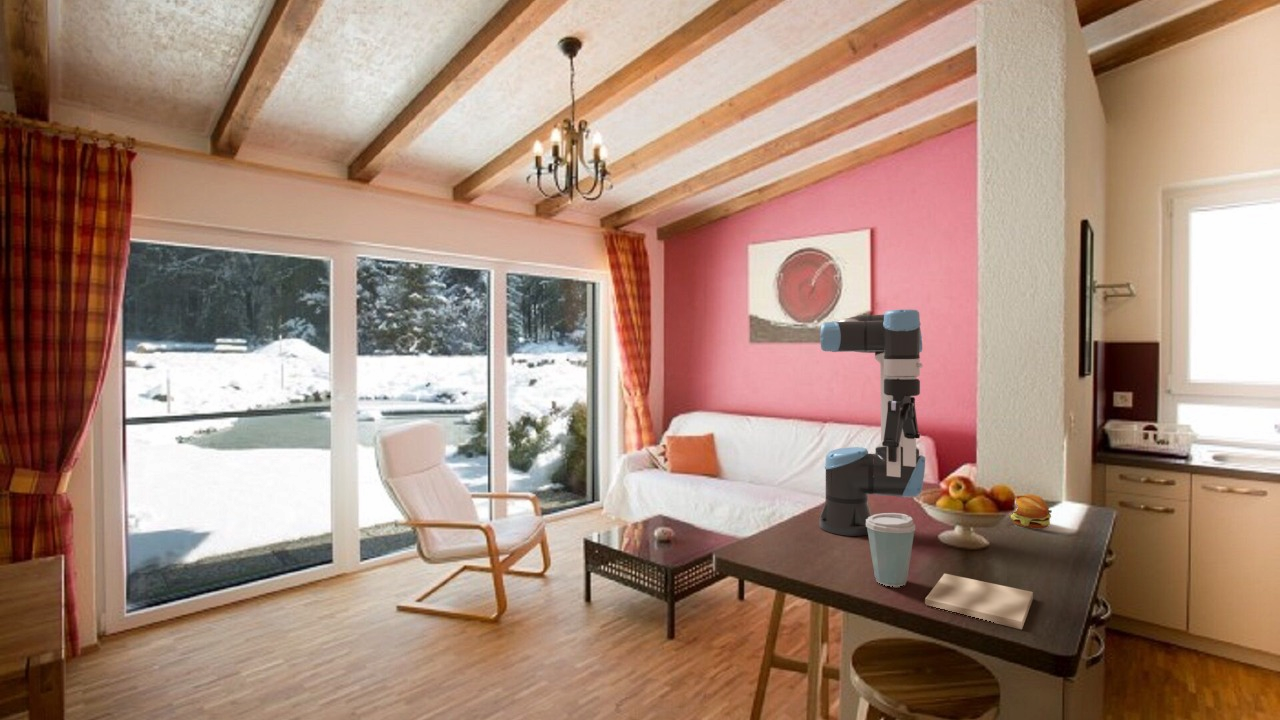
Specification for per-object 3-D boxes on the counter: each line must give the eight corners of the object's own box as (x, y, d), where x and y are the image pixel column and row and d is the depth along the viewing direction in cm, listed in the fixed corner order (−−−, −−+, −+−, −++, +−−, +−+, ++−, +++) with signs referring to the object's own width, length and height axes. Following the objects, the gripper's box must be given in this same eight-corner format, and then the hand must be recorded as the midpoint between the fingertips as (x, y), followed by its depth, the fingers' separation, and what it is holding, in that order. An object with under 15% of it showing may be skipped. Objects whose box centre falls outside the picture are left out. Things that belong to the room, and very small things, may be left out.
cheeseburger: (1050, 522, 179) (1051, 491, 177) (1051, 540, 171) (1053, 508, 168) (1010, 516, 185) (1011, 486, 182) (1010, 534, 176) (1010, 503, 174)
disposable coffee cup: (874, 591, 132) (874, 523, 132) (858, 572, 143) (858, 509, 142) (923, 591, 132) (923, 523, 131) (904, 573, 142) (904, 509, 142)
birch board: (925, 605, 125) (925, 598, 125) (944, 579, 138) (944, 573, 138) (1021, 629, 114) (1021, 621, 114) (1032, 599, 127) (1032, 592, 127)
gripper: (904, 381, 125) (905, 483, 125) (932, 375, 145) (932, 463, 145) (867, 380, 129) (868, 478, 130) (899, 375, 149) (899, 460, 150)
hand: (901, 471), depth 137 cm, fingers open, 13 cm apart
